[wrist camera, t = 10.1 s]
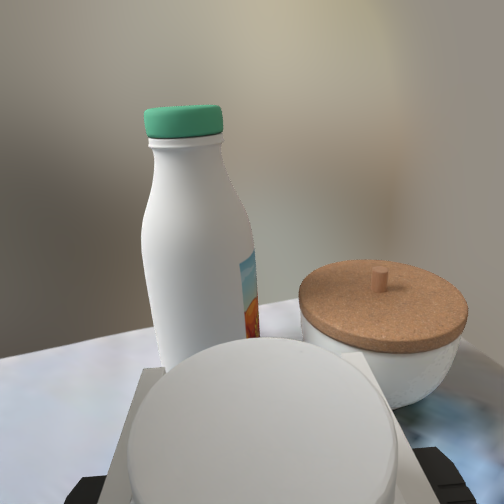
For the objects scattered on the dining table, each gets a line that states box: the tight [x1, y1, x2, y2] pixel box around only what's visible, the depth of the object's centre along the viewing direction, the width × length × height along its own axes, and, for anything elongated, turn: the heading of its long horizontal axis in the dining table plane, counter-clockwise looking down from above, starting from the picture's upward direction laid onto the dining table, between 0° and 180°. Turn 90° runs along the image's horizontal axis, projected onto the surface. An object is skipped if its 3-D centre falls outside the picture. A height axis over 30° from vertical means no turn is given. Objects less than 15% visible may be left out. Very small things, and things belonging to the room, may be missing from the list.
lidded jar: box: [299, 260, 468, 410], centre depth 26 cm, size 11×11×9 cm
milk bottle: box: [141, 105, 260, 373], centre depth 25 cm, size 8×8×20 cm
